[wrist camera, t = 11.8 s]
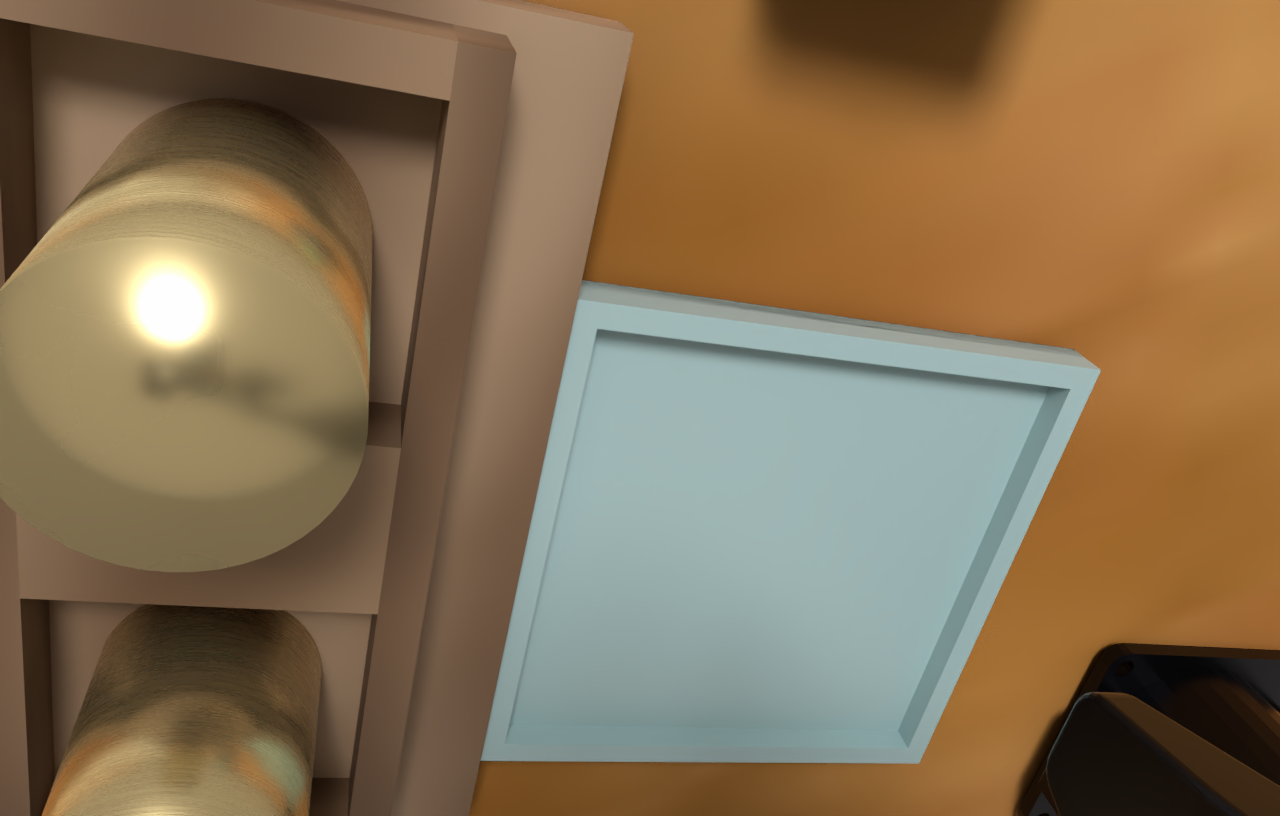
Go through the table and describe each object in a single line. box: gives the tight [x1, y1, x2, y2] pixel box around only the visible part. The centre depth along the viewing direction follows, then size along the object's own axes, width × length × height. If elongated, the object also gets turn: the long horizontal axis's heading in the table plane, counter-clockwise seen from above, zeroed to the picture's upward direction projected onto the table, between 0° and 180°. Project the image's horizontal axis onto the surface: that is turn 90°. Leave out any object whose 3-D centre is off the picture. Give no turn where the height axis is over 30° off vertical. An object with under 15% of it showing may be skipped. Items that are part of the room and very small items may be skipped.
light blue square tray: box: [481, 280, 1101, 763], centre depth 22 cm, size 11×11×1 cm
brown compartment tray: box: [0, 0, 634, 816], centre depth 18 cm, size 11×17×3 cm, turn 167°
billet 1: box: [0, 98, 373, 572], centre depth 13 cm, size 4×4×6 cm
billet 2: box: [42, 604, 322, 816], centre depth 17 cm, size 4×4×6 cm
